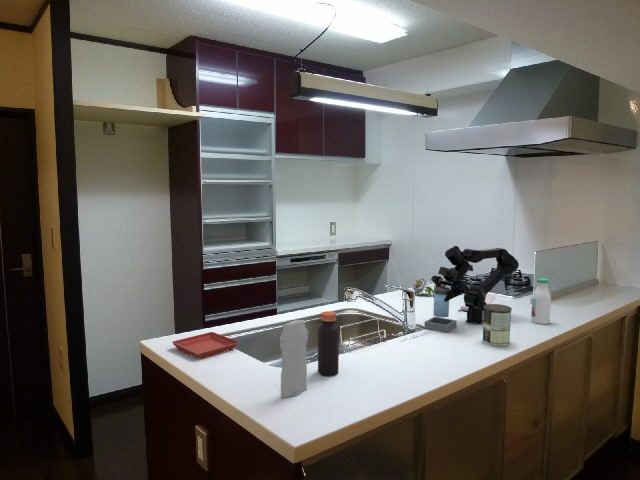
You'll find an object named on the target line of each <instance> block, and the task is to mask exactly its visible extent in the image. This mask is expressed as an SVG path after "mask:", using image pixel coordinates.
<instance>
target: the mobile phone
mask: <svg viewBox="0 0 640 480" xmlns="http://www.w3.org/2000/svg"><path fill="white" fill-rule="evenodd" d="M496 298H497V295H495V294H491V293H487V294H486V299H485V302H486V303H487V304H492V303H493V302H494V300H495V299H496ZM468 308H469V307H466V306H465V303H463V304H462V305H461V306H460V309H458V312H462V311H466V312H467V311H468Z"/></svg>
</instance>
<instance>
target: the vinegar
mask: <svg viewBox="0 0 640 480" xmlns="http://www.w3.org/2000/svg"><path fill="white" fill-rule="evenodd" d="M320 322H321V325H319V326H318V328H317V373H318V375H321V376H324V377H334V376H336V375H338V373H339V360H340V359H339V353H340V351H339V350H340V349H339V348H340V347H339V346H340V345H339V344H340V343H339V341H340V337H339V336H340V329H339V328H340V327H339V326H337V324H336V323H337V312H335V311H331V310H329V311H327V310H326V311H322V312H320Z"/></svg>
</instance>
